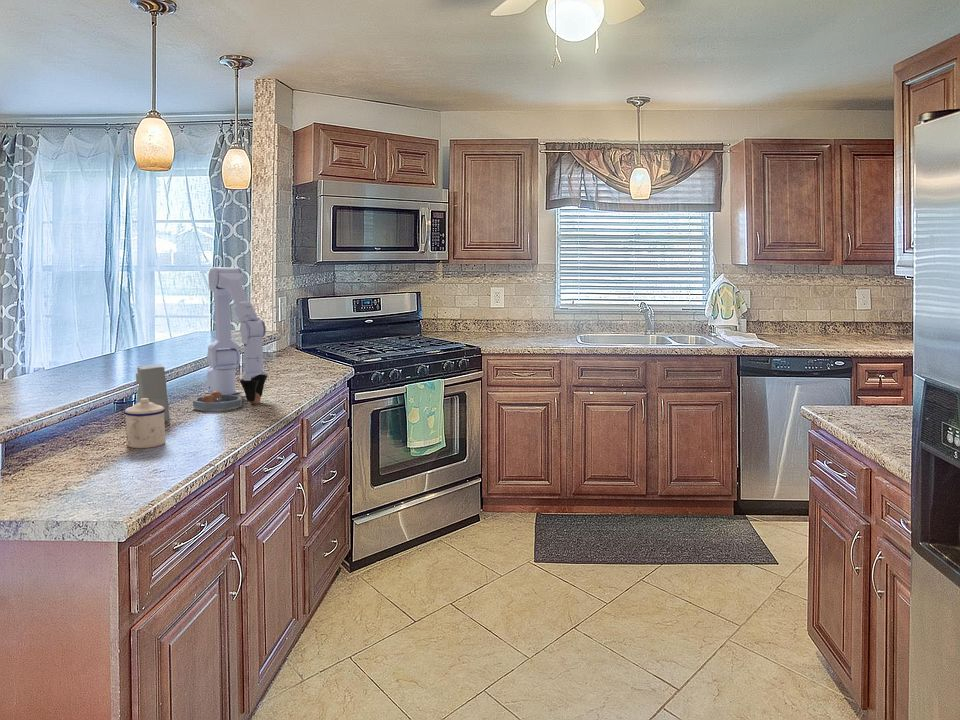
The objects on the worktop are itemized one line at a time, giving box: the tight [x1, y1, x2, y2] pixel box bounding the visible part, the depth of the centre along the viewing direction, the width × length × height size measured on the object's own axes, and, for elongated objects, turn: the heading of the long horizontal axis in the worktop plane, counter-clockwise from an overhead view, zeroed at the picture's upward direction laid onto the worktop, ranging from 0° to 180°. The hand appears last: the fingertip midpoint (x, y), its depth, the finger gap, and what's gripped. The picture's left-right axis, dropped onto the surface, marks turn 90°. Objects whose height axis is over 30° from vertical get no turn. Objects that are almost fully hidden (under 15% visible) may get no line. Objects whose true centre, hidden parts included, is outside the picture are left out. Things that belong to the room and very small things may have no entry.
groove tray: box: [192, 394, 243, 412], centre depth 216 cm, size 14×14×3 cm
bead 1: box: [209, 391, 222, 399], centre depth 218 cm, size 4×4×4 cm
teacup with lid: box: [123, 398, 166, 449], centre depth 168 cm, size 12×9×12 cm
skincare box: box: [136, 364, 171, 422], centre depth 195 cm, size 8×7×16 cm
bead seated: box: [202, 393, 215, 403], centre depth 212 cm, size 4×4×4 cm
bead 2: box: [248, 393, 262, 405], centre depth 221 cm, size 4×4×4 cm
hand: (254, 398), depth 221 cm, fingers open, 7 cm apart
